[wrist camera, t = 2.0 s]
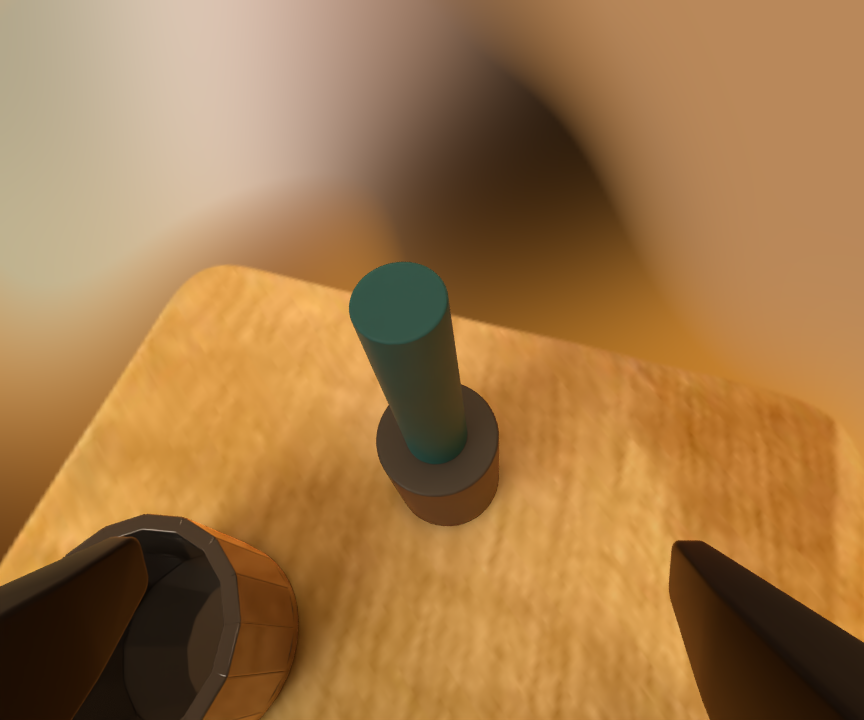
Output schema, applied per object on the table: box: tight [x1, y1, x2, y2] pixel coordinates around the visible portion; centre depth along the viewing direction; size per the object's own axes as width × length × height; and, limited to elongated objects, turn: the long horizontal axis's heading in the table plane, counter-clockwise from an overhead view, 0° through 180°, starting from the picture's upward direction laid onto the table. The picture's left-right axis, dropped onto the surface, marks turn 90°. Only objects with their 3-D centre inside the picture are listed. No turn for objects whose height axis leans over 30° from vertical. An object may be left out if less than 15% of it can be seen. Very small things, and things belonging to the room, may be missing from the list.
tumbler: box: [62, 514, 298, 720], centre depth 17 cm, size 7×7×5 cm
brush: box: [349, 262, 499, 526], centre depth 16 cm, size 4×4×12 cm
